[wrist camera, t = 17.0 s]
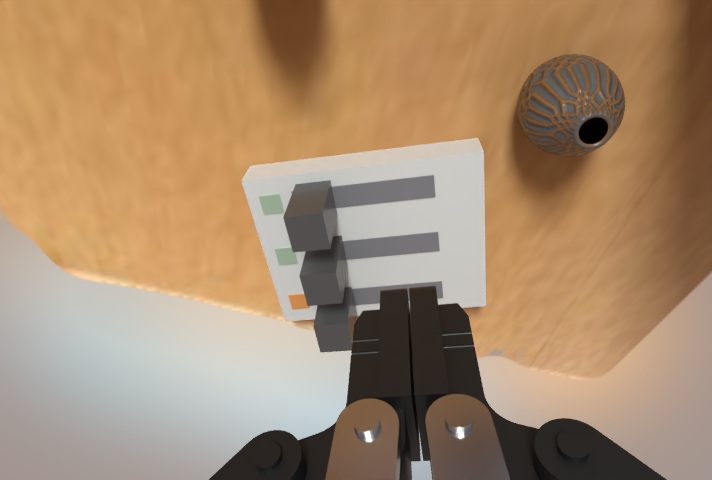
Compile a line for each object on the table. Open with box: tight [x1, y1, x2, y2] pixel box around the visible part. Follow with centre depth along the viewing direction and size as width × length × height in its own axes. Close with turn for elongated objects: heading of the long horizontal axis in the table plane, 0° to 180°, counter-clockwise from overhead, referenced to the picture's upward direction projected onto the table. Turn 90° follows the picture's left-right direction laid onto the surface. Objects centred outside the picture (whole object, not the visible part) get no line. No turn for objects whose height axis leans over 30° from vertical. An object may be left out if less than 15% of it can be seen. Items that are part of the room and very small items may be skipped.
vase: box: [518, 54, 625, 157], centre depth 34 cm, size 7×7×9 cm
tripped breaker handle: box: [314, 287, 357, 352], centre depth 44 cm, size 3×3×5 cm
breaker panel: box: [242, 138, 486, 321], centre depth 42 cm, size 20×16×8 cm
